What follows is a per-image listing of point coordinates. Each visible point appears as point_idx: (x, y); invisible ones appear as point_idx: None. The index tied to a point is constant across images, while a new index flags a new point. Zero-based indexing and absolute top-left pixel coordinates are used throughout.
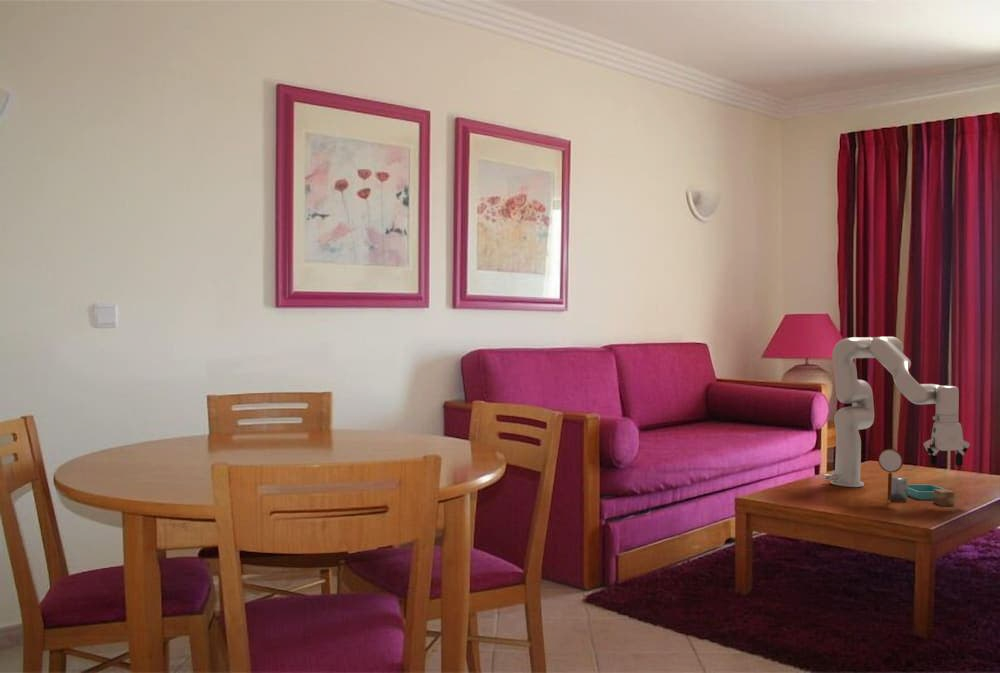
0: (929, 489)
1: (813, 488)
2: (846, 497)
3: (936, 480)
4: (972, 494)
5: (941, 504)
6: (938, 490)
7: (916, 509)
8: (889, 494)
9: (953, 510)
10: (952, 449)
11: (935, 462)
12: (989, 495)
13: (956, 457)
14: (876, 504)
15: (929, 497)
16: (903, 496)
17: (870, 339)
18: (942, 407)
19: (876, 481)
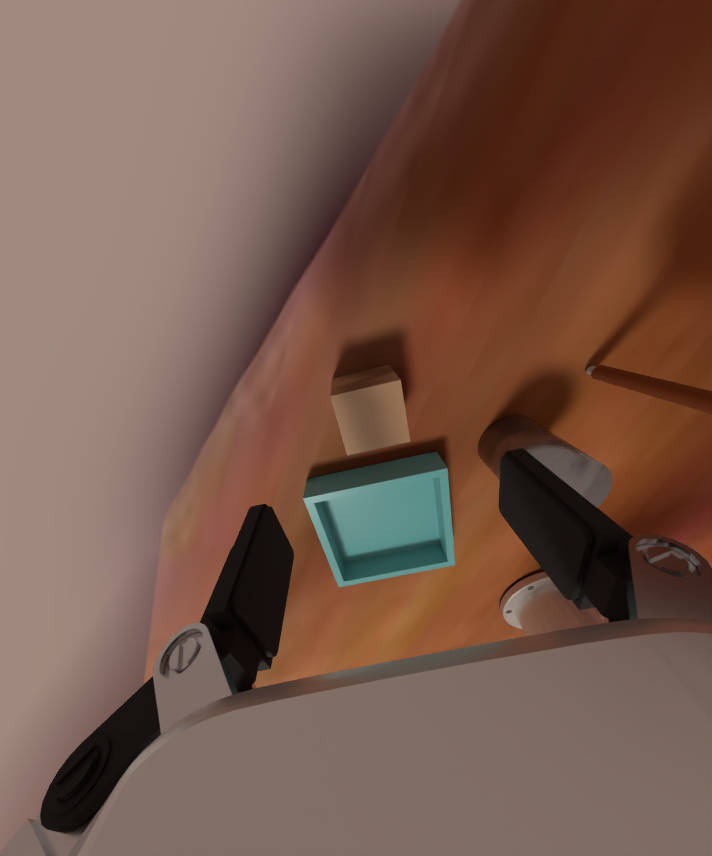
0: (347, 566)
1: (685, 535)
2: (686, 433)
3: (277, 672)
4: (216, 562)
5: (388, 365)
6: (399, 419)
7: (552, 239)
8: (627, 371)
9: (376, 255)
10: (401, 692)
11: (547, 468)
12: (164, 561)
13: (275, 615)
14: (668, 323)
15: (393, 465)
16: (516, 424)
17: None
18: None
19: (437, 637)
